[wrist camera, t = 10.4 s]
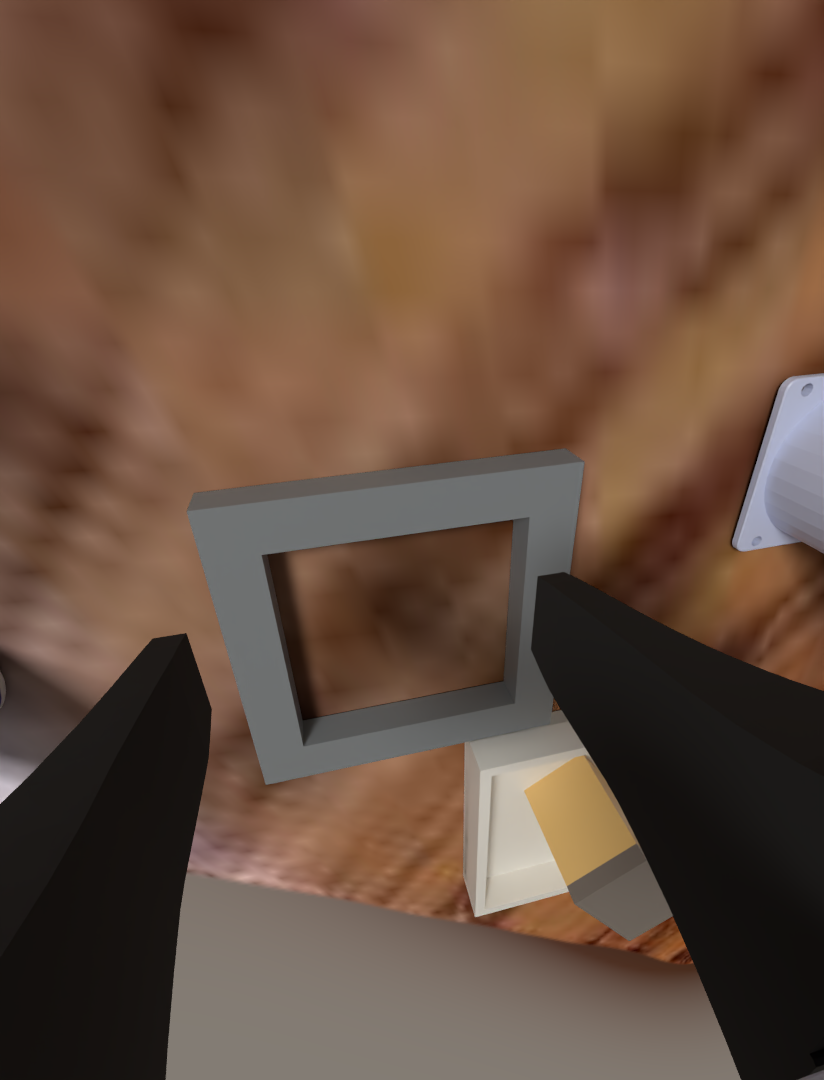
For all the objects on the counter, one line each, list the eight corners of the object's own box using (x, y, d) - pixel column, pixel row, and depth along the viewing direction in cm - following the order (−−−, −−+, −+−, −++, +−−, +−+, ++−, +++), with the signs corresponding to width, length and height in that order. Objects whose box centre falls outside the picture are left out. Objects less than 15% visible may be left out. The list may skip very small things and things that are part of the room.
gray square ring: (565, 448, 20) (584, 461, 19) (537, 701, 27) (550, 724, 26) (193, 493, 18) (186, 511, 17) (267, 757, 25) (266, 784, 23)
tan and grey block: (582, 752, 29) (646, 860, 24) (628, 800, 32) (693, 903, 27) (524, 790, 29) (574, 904, 24) (575, 833, 33) (629, 941, 28)
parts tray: (700, 680, 29) (732, 714, 27) (653, 826, 36) (676, 862, 34) (464, 730, 27) (480, 771, 25) (463, 875, 34) (475, 917, 32)
